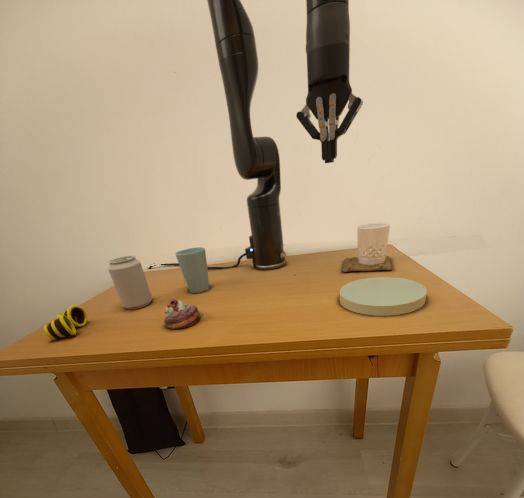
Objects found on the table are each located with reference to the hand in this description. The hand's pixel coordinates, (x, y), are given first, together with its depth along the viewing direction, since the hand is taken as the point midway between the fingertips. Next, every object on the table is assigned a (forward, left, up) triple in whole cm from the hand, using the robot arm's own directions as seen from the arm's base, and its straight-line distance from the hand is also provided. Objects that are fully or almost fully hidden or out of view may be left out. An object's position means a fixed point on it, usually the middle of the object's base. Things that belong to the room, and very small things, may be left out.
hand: (329, 162), depth 61 cm
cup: (-34, -9, -25) cm, 43 cm away
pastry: (-25, -28, -25) cm, 45 cm away
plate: (+13, -12, -25) cm, 30 cm away
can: (-45, -21, -25) cm, 56 cm away
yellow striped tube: (-50, -37, -25) cm, 67 cm away
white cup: (+8, +13, -25) cm, 29 cm away
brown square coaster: (+7, +12, -24) cm, 28 cm away
